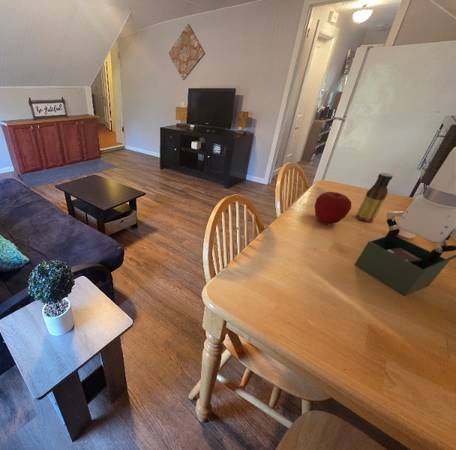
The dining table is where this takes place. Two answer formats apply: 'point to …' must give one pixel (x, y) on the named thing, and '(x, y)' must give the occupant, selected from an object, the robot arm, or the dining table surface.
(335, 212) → the apple
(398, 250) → the box
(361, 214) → the sauce bottle
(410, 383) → the dining table surface
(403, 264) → the bin
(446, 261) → the flap
